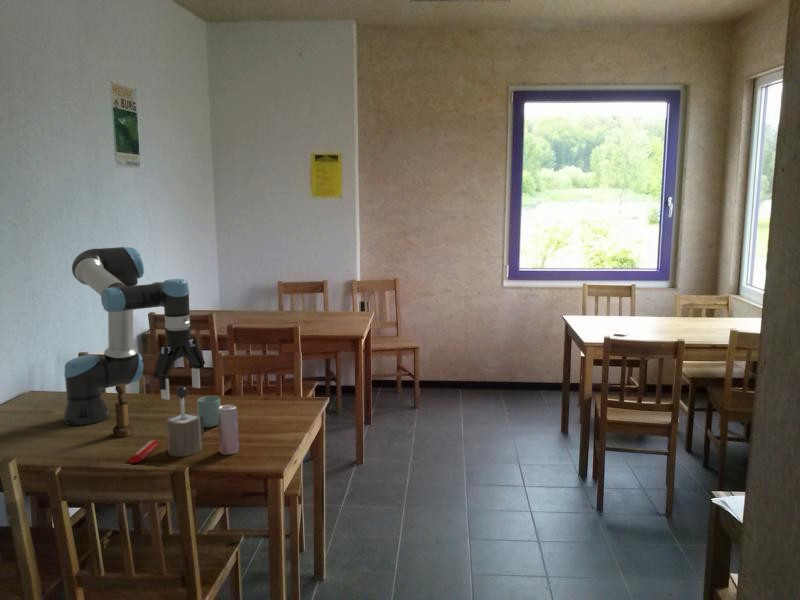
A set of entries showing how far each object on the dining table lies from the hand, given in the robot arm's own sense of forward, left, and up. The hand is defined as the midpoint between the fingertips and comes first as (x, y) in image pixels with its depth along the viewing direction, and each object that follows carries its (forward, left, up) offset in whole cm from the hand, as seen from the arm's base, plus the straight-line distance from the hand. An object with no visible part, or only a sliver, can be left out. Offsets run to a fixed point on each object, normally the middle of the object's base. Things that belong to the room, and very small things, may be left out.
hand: (181, 393), depth 204 cm
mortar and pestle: (-31, +3, -19) cm, 36 cm away
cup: (-9, +22, -19) cm, 31 cm away
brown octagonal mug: (0, +1, -19) cm, 19 cm away
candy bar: (-9, -8, -20) cm, 23 cm away
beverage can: (+14, +5, -19) cm, 25 cm away
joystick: (0, 0, -17) cm, 17 cm away
